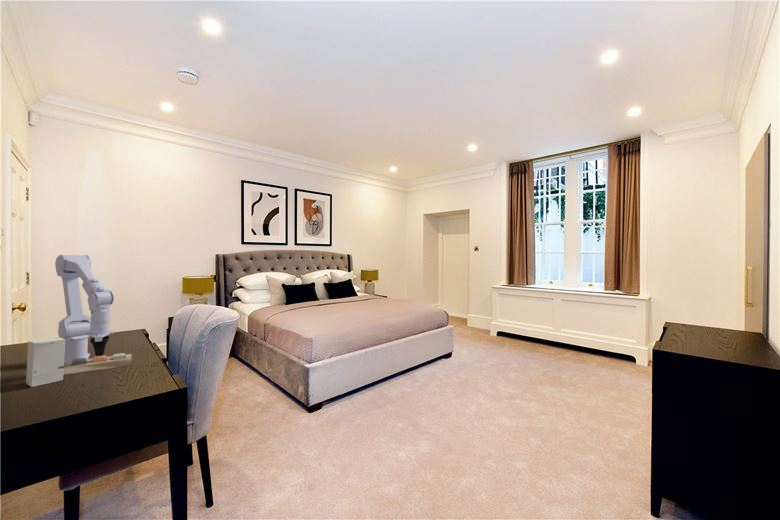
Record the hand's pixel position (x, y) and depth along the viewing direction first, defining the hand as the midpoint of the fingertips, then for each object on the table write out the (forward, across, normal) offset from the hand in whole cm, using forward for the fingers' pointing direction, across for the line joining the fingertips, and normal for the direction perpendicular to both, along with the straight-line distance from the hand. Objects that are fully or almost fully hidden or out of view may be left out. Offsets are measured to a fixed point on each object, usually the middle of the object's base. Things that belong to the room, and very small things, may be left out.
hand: (99, 355), depth 131 cm
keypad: (+4, 0, 0) cm, 4 cm away
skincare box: (+5, -10, +14) cm, 17 cm away
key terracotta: (+3, 0, 0) cm, 3 cm away
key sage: (+3, 0, -6) cm, 7 cm away
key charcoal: (+3, 0, +6) cm, 7 cm away
